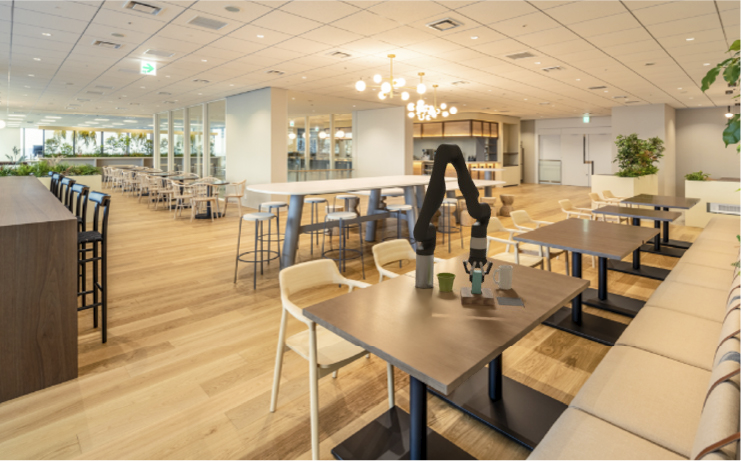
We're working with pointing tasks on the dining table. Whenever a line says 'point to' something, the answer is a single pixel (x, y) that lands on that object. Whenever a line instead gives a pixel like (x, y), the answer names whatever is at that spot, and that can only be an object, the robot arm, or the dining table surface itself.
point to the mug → (504, 276)
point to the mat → (510, 301)
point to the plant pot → (446, 281)
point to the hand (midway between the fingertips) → (476, 282)
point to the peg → (476, 281)
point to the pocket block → (477, 296)
